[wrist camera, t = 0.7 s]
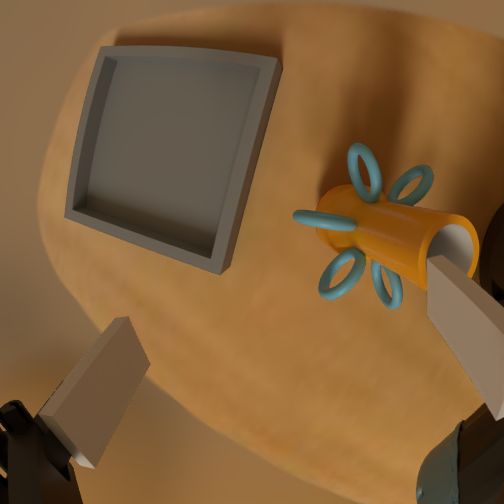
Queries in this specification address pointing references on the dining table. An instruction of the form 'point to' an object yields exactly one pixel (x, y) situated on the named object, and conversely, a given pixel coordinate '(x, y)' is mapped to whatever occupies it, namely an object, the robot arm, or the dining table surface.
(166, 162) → the tray
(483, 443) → the robot arm
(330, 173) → the dining table surface
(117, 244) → the dining table surface
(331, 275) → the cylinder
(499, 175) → the dining table surface
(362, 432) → the dining table surface
